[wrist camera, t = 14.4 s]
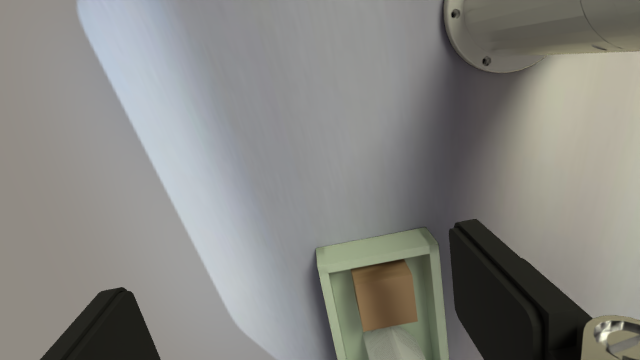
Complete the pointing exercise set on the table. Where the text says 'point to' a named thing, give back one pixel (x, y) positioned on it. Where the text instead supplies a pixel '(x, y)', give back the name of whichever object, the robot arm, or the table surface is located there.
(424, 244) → the tote
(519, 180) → the table surface
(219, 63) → the table surface
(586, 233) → the table surface
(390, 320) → the walnut block
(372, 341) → the skincare box
